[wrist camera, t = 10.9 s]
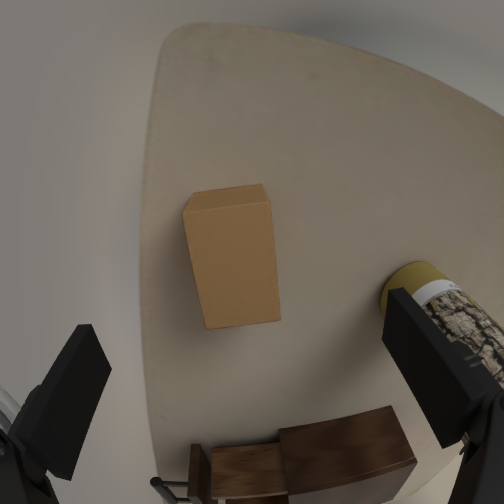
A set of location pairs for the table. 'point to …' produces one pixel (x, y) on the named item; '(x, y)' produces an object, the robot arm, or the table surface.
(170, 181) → the table surface
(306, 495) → the cabinet
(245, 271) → the small cardboard box
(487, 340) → the paper tube
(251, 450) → the drawer
